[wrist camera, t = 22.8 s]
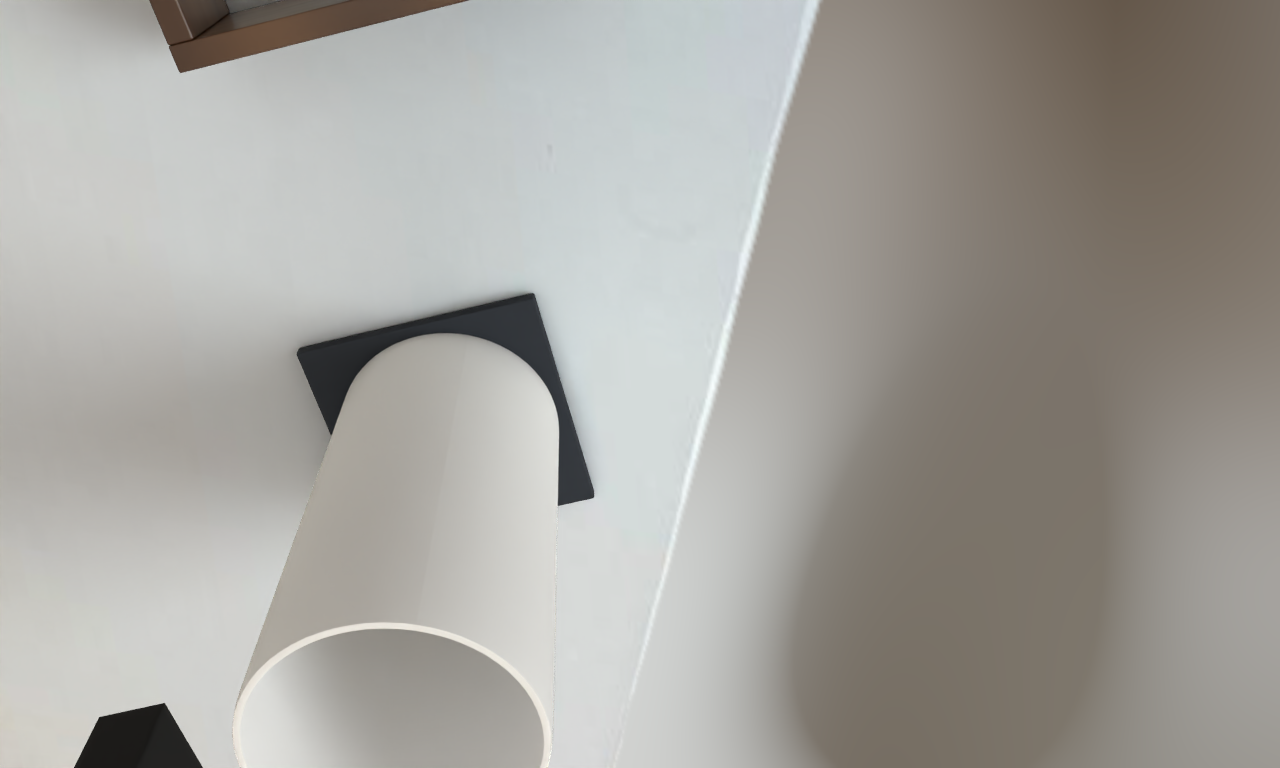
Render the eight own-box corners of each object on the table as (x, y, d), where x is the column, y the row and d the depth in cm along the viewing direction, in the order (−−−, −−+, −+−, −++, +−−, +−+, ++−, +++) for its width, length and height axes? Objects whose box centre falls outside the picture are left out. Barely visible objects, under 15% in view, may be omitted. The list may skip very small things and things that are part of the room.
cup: (330, 499, 45) (220, 835, 31) (355, 313, 41) (242, 598, 27) (536, 532, 46) (521, 869, 32) (578, 355, 42) (582, 647, 28)
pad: (534, 292, 41) (533, 298, 41) (594, 491, 46) (594, 498, 45) (298, 347, 42) (295, 353, 42) (379, 539, 46) (378, 546, 46)
